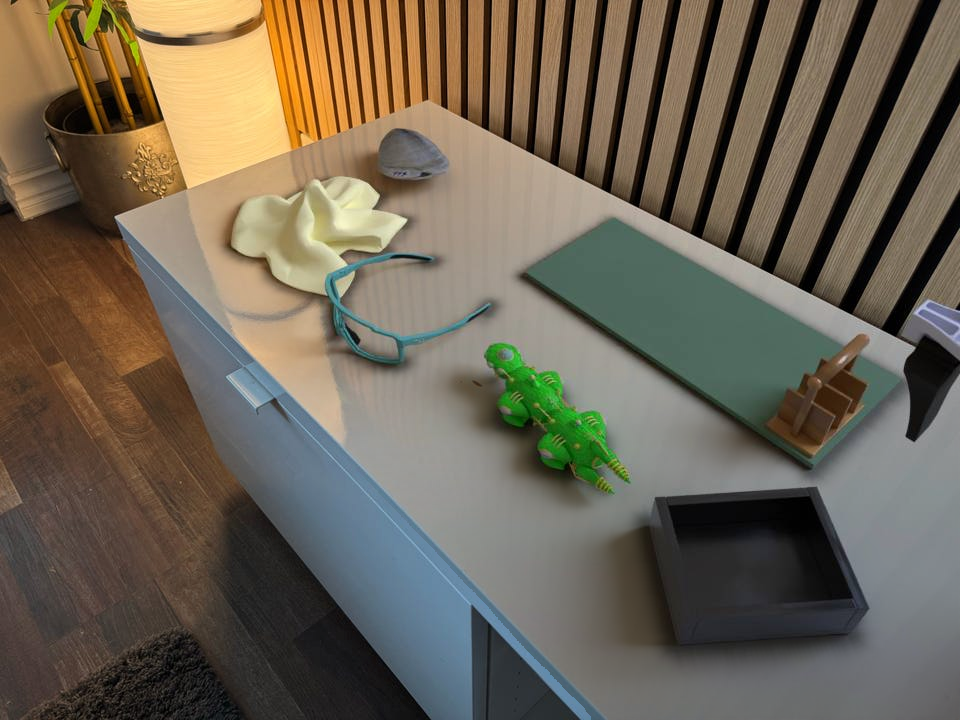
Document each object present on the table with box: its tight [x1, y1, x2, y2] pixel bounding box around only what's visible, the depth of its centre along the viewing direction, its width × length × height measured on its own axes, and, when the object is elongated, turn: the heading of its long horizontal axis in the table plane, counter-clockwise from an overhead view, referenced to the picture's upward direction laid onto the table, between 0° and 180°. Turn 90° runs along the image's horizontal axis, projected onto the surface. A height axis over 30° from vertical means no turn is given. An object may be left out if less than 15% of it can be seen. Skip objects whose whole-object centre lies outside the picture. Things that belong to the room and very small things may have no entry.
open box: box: [648, 486, 870, 646], centre depth 54 cm, size 12×10×4 cm
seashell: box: [376, 127, 451, 181], centre depth 93 cm, size 12×8×5 cm
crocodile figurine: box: [483, 342, 632, 495], centre depth 64 cm, size 7×18×4 cm, turn 34°
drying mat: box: [524, 216, 902, 470], centre depth 74 cm, size 34×14×1 cm, turn 41°
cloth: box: [230, 175, 408, 299], centre depth 84 cm, size 22×19×6 cm
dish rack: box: [765, 333, 871, 458], centre depth 62 cm, size 8×4×8 cm, turn 131°
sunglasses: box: [325, 252, 492, 365], centre depth 75 cm, size 14×15×5 cm
